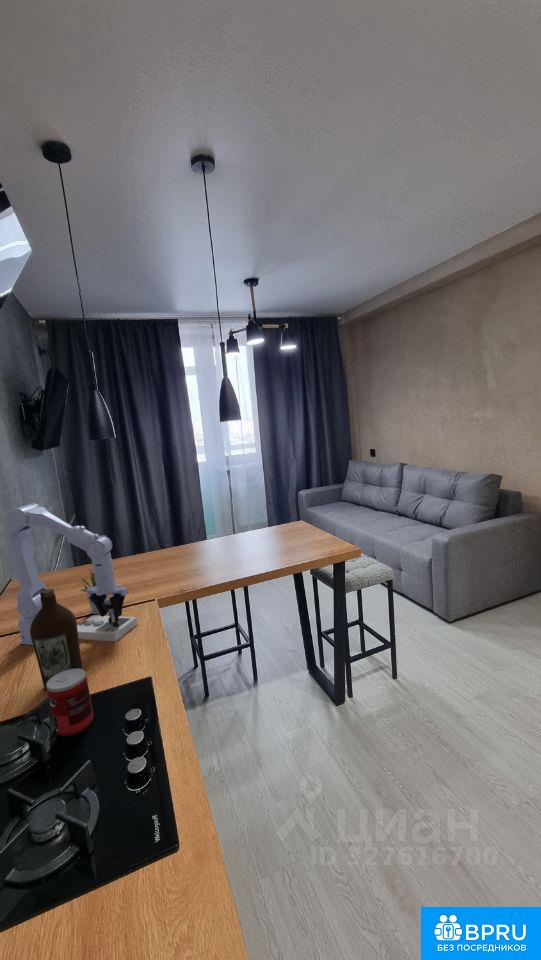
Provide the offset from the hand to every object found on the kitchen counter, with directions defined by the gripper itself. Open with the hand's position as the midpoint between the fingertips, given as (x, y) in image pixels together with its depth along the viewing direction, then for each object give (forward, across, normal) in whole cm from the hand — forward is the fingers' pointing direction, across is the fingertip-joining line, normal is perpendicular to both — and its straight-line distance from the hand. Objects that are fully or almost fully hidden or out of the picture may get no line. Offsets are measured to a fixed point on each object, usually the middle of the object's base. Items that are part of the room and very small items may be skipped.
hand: (111, 615), depth 135 cm
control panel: (+6, -4, 0) cm, 7 cm away
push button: (+5, 0, 0) cm, 5 cm away
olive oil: (+6, +5, -26) cm, 27 cm away
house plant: (+6, -16, +14) cm, 22 cm away
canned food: (+6, +21, -39) cm, 45 cm away
